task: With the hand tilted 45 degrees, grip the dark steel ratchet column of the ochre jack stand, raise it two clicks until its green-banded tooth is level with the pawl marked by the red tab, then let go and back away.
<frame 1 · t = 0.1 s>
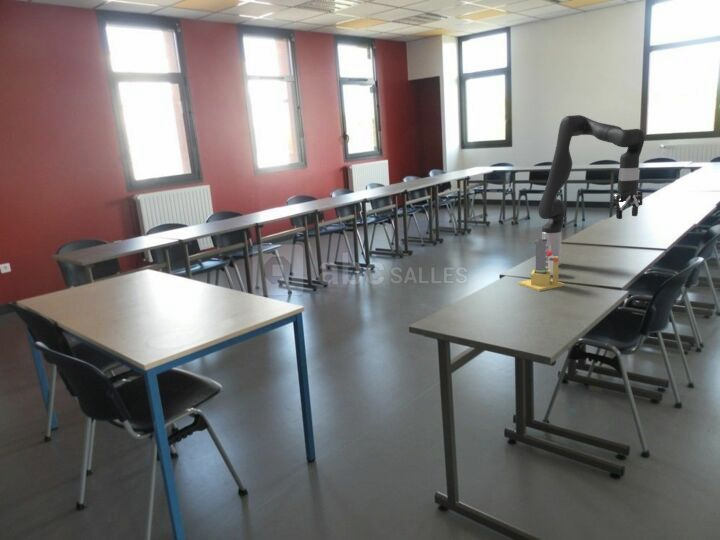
hand: (626, 217, 224), 29 cm above the table, tool pointing down, fingers open, 8 cm apart
pill bottle: (545, 274, 256), on the table
stand base: (540, 284, 239), on the table
column: (541, 261, 237), point 11 cm above the table, slide at 0.0 cm
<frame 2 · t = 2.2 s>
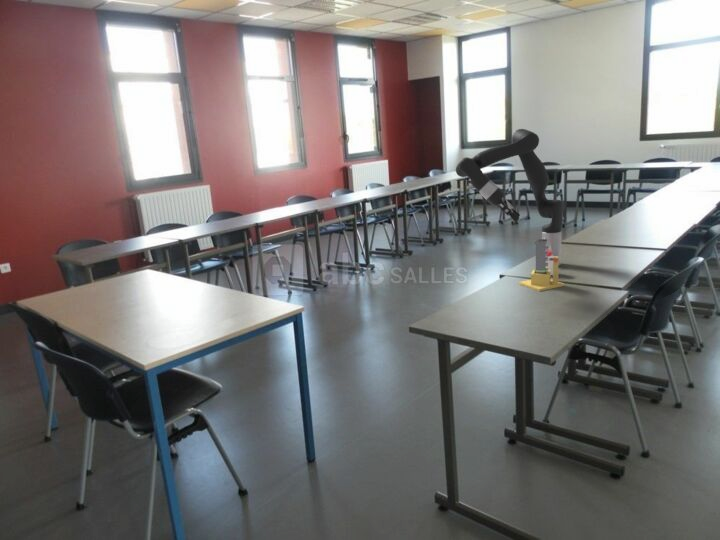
hand: (518, 218, 235), 31 cm above the table, tool tilted 45°, fingers open, 8 cm apart
nothing on the table moved.
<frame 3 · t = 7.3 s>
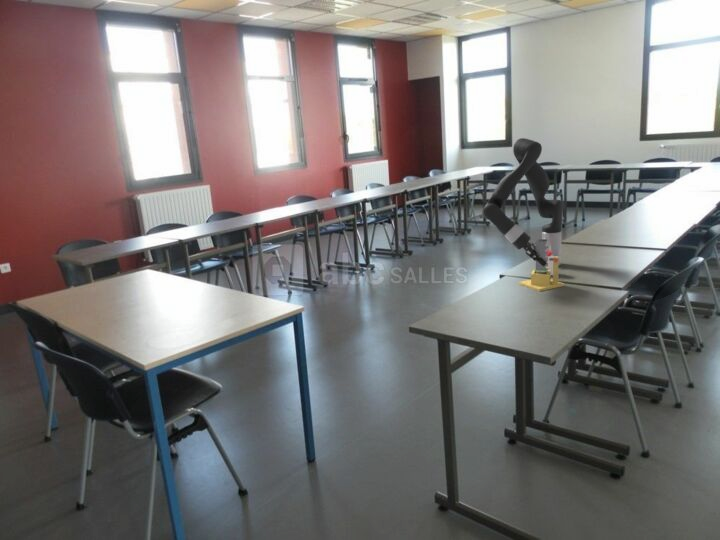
hand: (545, 263, 236), 10 cm above the table, tool tilted 45°, fingers closed on column, 4 cm apart
column: (541, 261, 237), point 11 cm above the table, slide at 0.0 cm, touching gripper
everything else where it was.
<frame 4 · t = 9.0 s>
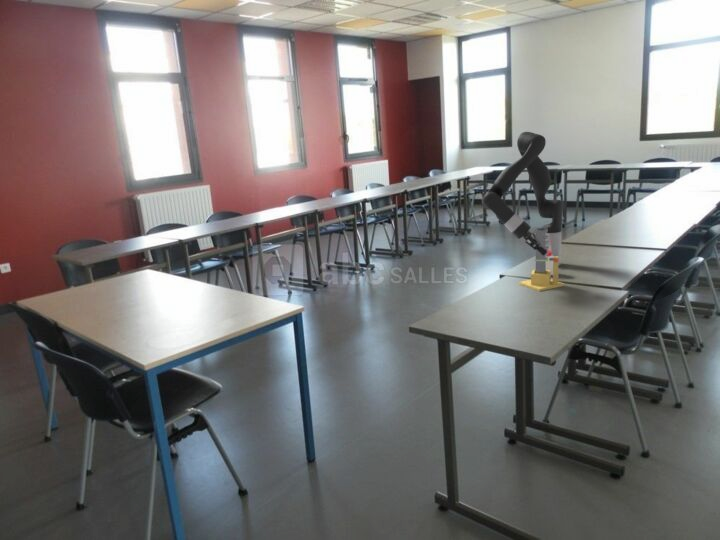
hand: (545, 252, 235), 15 cm above the table, tool tilted 45°, fingers closed on column, 4 cm apart
column: (541, 250, 235), point 16 cm above the table, slide at 4.9 cm, touching gripper
everything else where it was.
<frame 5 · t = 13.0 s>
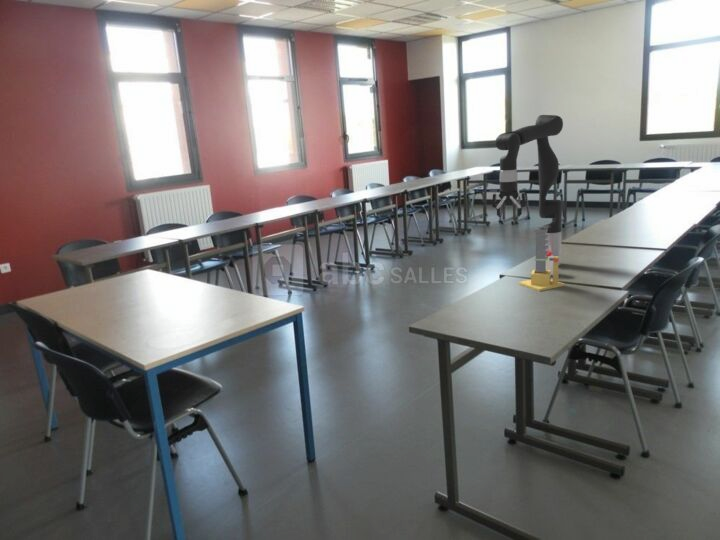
hand: (509, 216, 237), 31 cm above the table, tool pointing down, fingers open, 8 cm apart
column: (541, 250, 235), point 16 cm above the table, slide at 5.2 cm
everything else where it was.
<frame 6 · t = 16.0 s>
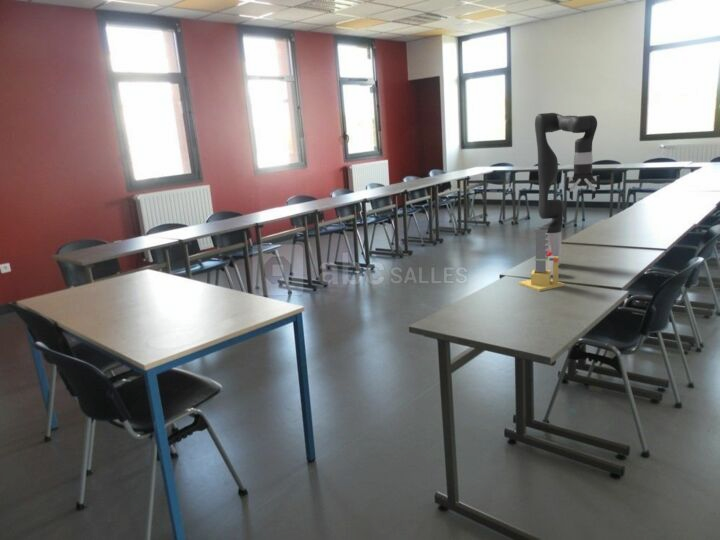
hand: (582, 199, 237), 36 cm above the table, tool pointing down, fingers open, 8 cm apart
nothing on the table moved.
at the end: column slide at 5.2 cm; the gripper is holding nothing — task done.
